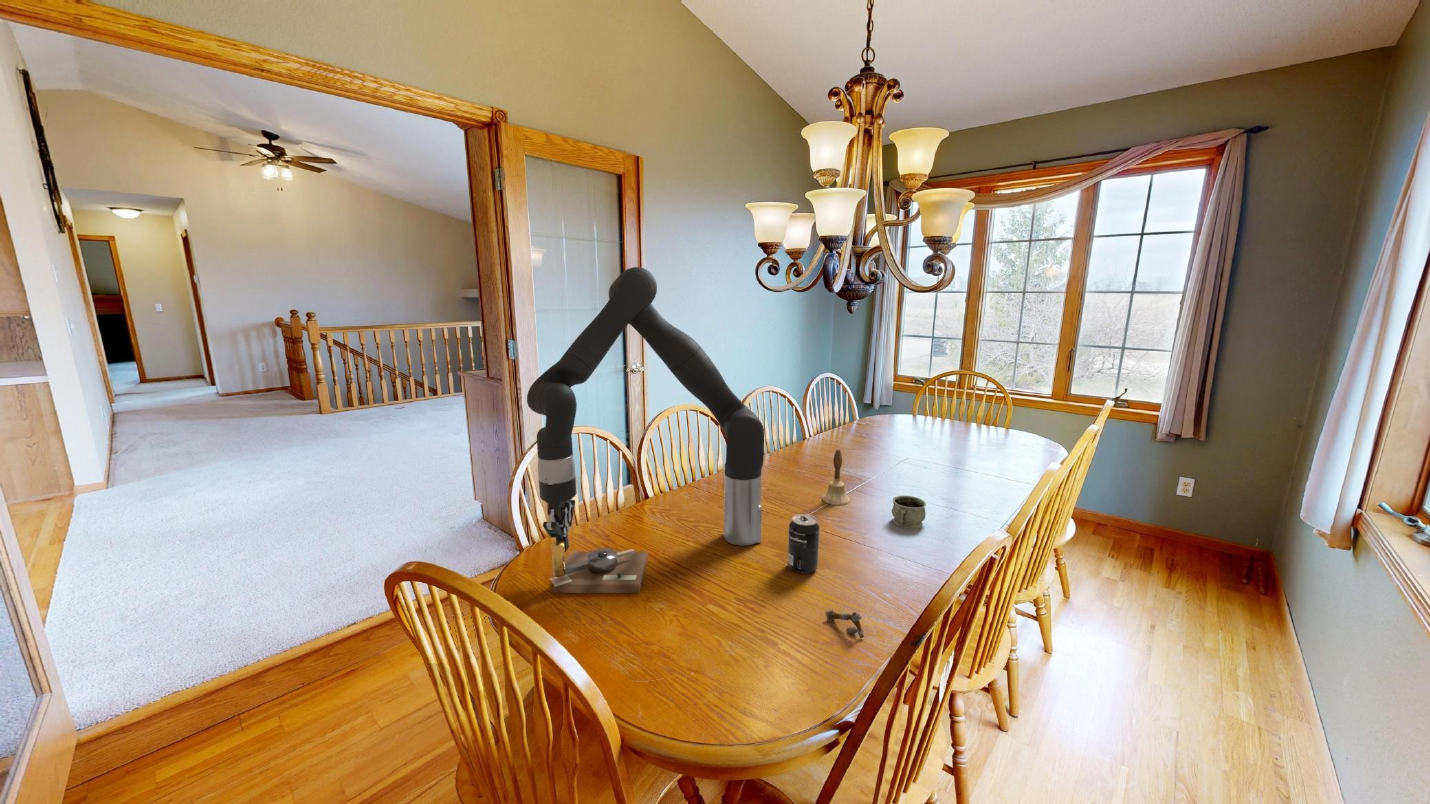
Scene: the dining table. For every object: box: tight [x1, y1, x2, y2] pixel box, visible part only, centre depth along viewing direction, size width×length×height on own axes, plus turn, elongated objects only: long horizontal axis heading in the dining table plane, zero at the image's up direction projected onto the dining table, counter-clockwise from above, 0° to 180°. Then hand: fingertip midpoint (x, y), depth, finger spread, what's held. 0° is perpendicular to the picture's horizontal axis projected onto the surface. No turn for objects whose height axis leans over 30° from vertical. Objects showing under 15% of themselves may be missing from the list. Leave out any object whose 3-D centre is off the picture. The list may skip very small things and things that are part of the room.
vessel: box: [891, 495, 927, 529], centre depth 143 cm, size 12×9×6 cm
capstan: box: [550, 540, 635, 578], centre depth 114 cm, size 18×6×8 cm, turn 123°
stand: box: [549, 551, 648, 594], centre depth 116 cm, size 19×15×3 cm
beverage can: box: [787, 513, 821, 574], centre depth 118 cm, size 7×7×12 cm
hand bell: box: [821, 449, 851, 506], centre depth 157 cm, size 8×8×16 cm
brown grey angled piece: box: [825, 608, 865, 639], centre depth 98 cm, size 2×8×4 cm, turn 36°
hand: (562, 550), depth 114 cm, fingers closed
